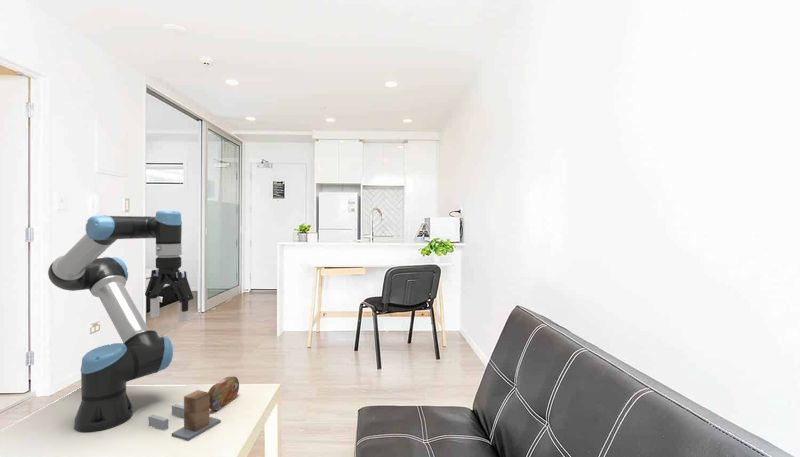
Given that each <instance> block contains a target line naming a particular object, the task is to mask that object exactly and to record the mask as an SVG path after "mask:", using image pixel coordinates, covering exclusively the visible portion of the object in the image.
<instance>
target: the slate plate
mask: <svg viewBox="0 0 800 457" xmlns="http://www.w3.org/2000/svg"><path fill="white" fill-rule="evenodd" d="M221 422H222V420H221V419H219V418H215V417H211V416H209V425H207V426H205V427H204V428H202V429H200V430H198V431H196V432H195V431H191V430H188V429H184V426H182V427H181V428H179V429H177V430H175V431H173V432H171V437H174V438H177V439H180V440H183V441H187V442H189V441H191V440H192V439H194V438H196V437H198V436H199V435H201V434H203V433H204V432H206V431H208V430H210V429H211V428H213V427H215V426H217V425H219V424H220V423H221Z"/></svg>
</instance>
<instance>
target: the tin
mask: <svg viewBox="0 0 800 457" xmlns="http://www.w3.org/2000/svg"><path fill="white" fill-rule="evenodd" d="M239 389H240V381H239V379H238V377H237V376H234V375H233V376H227V377H225V378H223V379H222V380H220V381H218V382H217V383H215V384H214V385H212V386H210V388H209V390H208V391H207V392H208V393H209V410H212V411H213V410H215V411H220V410H221V409H223V408H224V407H226V406H227V405H228V404H230V403H231V402H233V401H234V400H235V399H236V398H237V396H238V393H239Z"/></svg>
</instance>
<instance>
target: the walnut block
mask: <svg viewBox="0 0 800 457" xmlns="http://www.w3.org/2000/svg"><path fill="white" fill-rule="evenodd" d="M208 392H209V391H204V390H199V389H197V390H195V391H193V392H190V393H188V394H186V395H184V396H183V402H184V403H183V406H184V418H183V427H184V429H188V430H191V431H195V432H196V431H198V430H200V429H202V428H204V427H205V426H207V425H209V417H210V408H209V393H208Z"/></svg>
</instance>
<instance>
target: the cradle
mask: <svg viewBox="0 0 800 457" xmlns="http://www.w3.org/2000/svg"><path fill="white" fill-rule="evenodd" d="M171 416H175V417H178V418H183V419H184V405H181V404H179V403H175V404H173V405H171ZM151 426H152V427H151ZM148 427H151V428H154V427H155V429H156V430H157V429H158V430H161V431H166V430H167V429H169V418H167V417H164V416H160V415H157V414H154V413H153V414H151V415H149V416H148Z"/></svg>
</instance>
